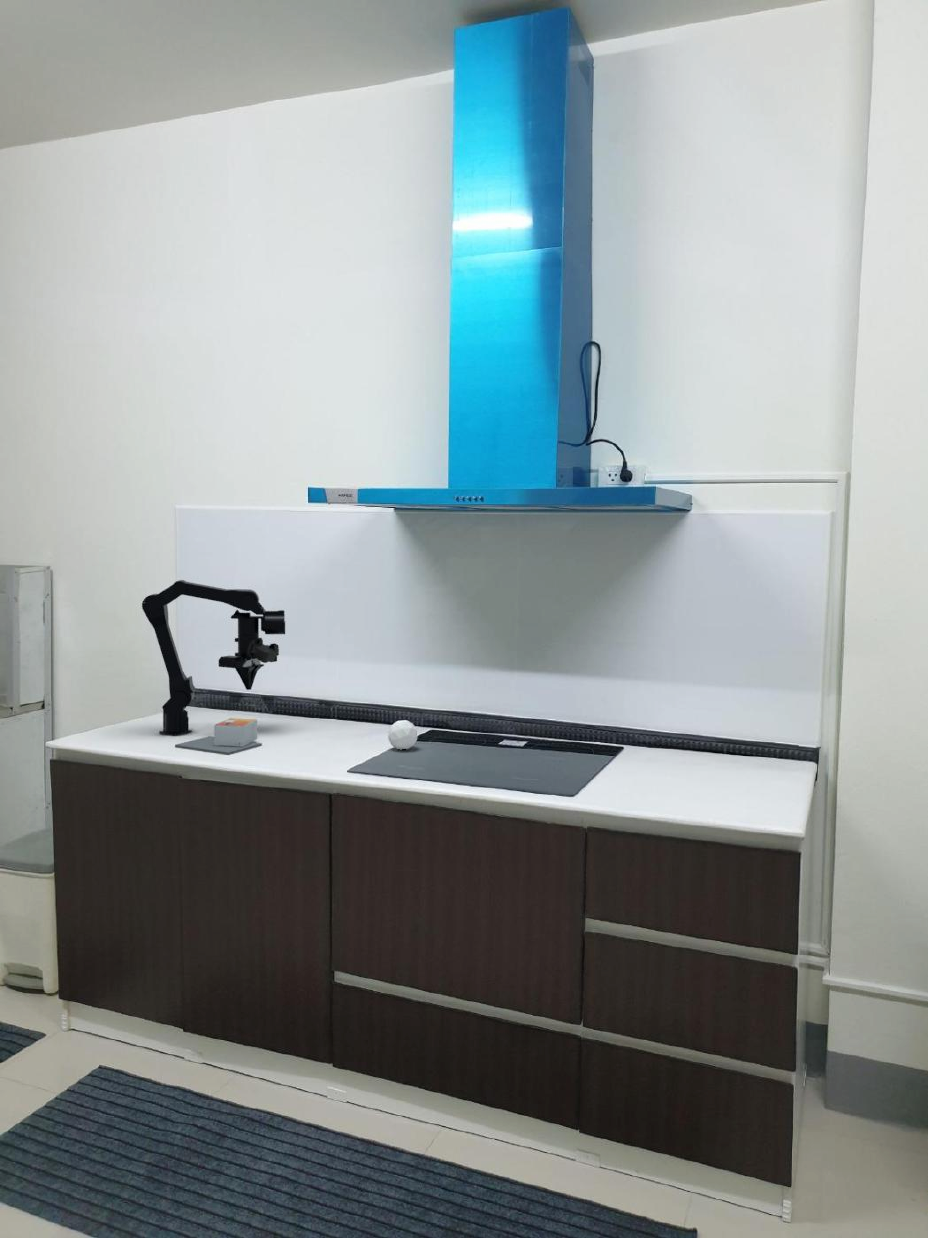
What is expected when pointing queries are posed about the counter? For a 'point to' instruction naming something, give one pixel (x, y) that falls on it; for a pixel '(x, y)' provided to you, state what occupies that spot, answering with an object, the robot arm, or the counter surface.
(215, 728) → the small box
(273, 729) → the counter surface
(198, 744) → the mat
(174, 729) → the robot arm
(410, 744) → the ball
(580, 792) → the counter surface
